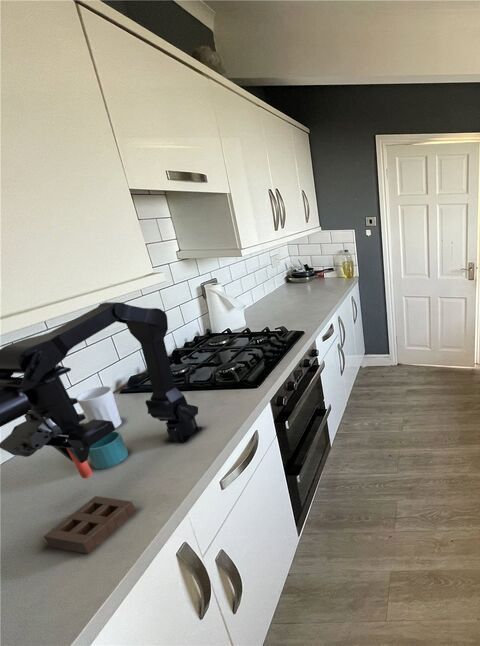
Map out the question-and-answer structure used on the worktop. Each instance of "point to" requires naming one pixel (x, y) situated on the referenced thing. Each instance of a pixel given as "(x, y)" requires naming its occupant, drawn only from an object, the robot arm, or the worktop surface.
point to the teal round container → (108, 451)
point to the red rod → (81, 466)
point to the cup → (99, 405)
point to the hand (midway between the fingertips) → (80, 461)
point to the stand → (90, 524)
